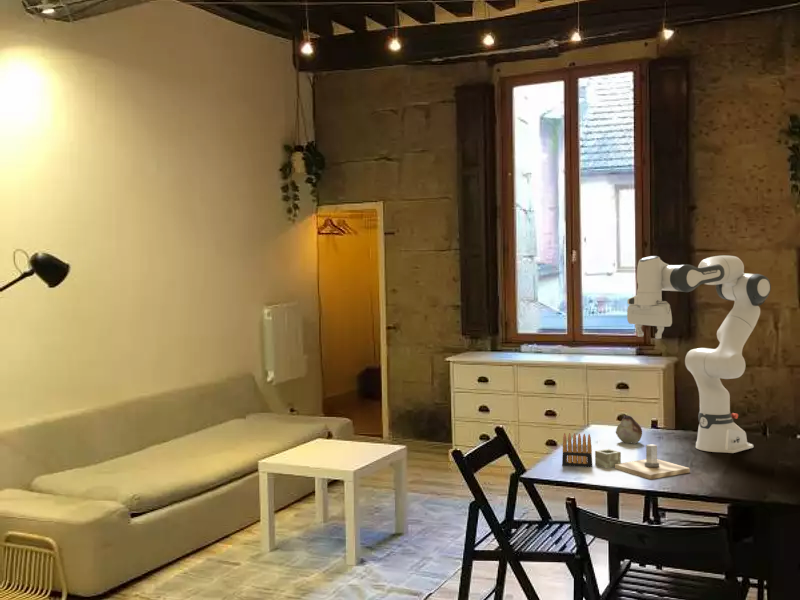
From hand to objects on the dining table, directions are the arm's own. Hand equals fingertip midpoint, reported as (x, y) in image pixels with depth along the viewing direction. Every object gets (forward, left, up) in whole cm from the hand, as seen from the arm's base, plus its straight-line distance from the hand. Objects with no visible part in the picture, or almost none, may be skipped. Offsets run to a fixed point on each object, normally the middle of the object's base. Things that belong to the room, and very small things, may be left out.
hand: (649, 337), depth 323 cm
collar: (+19, -1, -46) cm, 49 cm away
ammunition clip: (+29, -6, -46) cm, 55 cm away
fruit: (-13, -26, -46) cm, 54 cm away
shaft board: (+11, +13, -46) cm, 49 cm away
